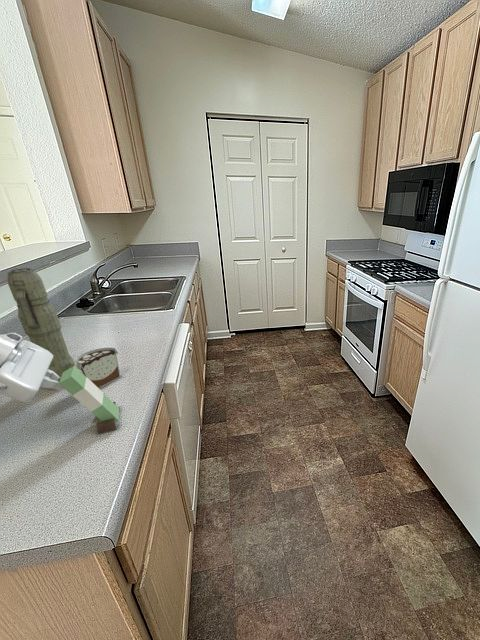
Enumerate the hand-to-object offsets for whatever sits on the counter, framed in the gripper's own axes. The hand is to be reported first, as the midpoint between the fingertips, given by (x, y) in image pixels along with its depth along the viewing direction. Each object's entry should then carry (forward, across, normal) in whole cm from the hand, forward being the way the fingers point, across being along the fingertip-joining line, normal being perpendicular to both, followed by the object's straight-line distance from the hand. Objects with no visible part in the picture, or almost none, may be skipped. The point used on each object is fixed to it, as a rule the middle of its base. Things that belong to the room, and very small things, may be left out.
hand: (64, 385), depth 79 cm
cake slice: (+11, +24, +7) cm, 27 cm away
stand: (+13, 0, +4) cm, 14 cm away
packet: (+6, 0, +1) cm, 6 cm away
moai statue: (+4, +30, +14) cm, 33 cm away
